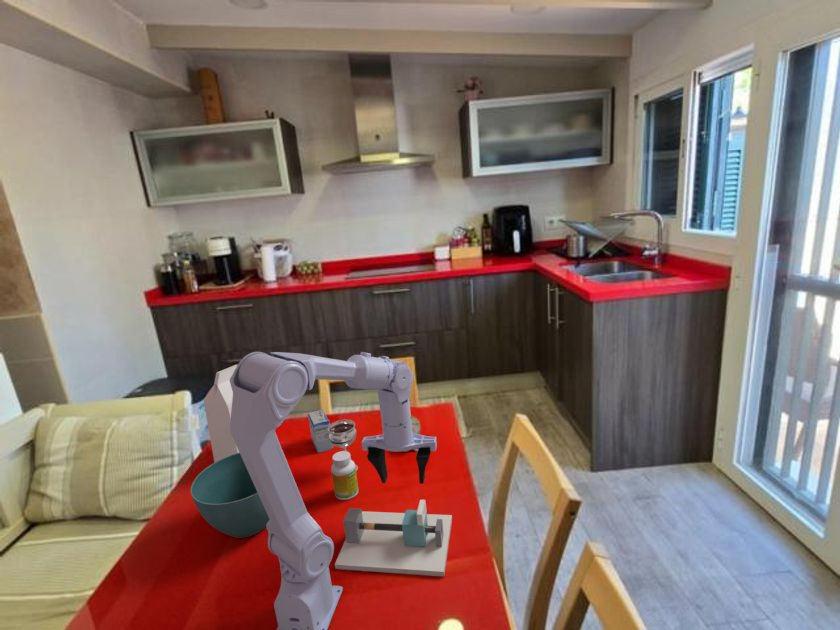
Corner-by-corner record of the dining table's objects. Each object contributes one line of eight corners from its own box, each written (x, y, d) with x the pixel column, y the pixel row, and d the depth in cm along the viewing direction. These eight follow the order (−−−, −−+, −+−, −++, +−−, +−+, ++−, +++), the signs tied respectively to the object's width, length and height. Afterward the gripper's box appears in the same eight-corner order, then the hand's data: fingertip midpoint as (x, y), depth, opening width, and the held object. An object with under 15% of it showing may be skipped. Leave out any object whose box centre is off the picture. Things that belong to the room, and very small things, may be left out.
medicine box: (312, 440, 125) (307, 413, 123) (327, 435, 127) (322, 408, 125) (317, 453, 118) (312, 424, 116) (334, 448, 120) (329, 420, 118)
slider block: (425, 546, 82) (421, 514, 80) (404, 545, 82) (400, 513, 81) (428, 530, 85) (425, 499, 84) (408, 529, 86) (404, 499, 84)
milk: (242, 475, 112) (220, 381, 105) (214, 464, 118) (193, 374, 111) (279, 451, 121) (261, 363, 115) (252, 442, 128) (234, 358, 121)
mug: (391, 457, 114) (384, 418, 116) (404, 453, 123) (397, 417, 125) (418, 452, 112) (410, 412, 114) (429, 448, 121) (421, 411, 123)
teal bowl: (311, 511, 96) (302, 462, 93) (237, 571, 82) (224, 515, 79) (260, 487, 106) (250, 442, 103) (186, 536, 92) (172, 486, 89)
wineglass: (364, 472, 108) (358, 428, 105) (337, 481, 106) (330, 436, 103) (357, 458, 114) (351, 417, 111) (331, 466, 112) (325, 424, 109)
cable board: (444, 576, 77) (441, 548, 75) (335, 568, 80) (330, 541, 79) (452, 519, 90) (449, 494, 88) (358, 515, 94) (355, 490, 92)
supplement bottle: (354, 501, 98) (348, 463, 96) (331, 500, 99) (325, 462, 97) (361, 486, 103) (356, 449, 101) (340, 484, 104) (334, 448, 102)
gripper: (436, 408, 87) (441, 468, 90) (365, 409, 89) (373, 467, 93) (431, 427, 80) (437, 491, 84) (355, 427, 83) (364, 489, 86)
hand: (403, 480), depth 88 cm, fingers open, 7 cm apart
